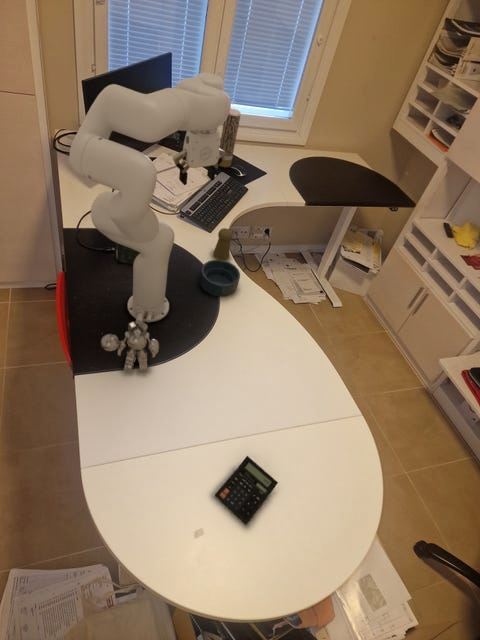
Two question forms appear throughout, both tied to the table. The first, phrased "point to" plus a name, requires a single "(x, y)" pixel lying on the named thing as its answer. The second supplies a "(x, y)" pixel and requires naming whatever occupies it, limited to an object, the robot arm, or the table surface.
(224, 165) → the paper tube
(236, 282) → the bowl
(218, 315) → the table surface
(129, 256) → the coffee jar
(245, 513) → the calculator
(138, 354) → the robot toy
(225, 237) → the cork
